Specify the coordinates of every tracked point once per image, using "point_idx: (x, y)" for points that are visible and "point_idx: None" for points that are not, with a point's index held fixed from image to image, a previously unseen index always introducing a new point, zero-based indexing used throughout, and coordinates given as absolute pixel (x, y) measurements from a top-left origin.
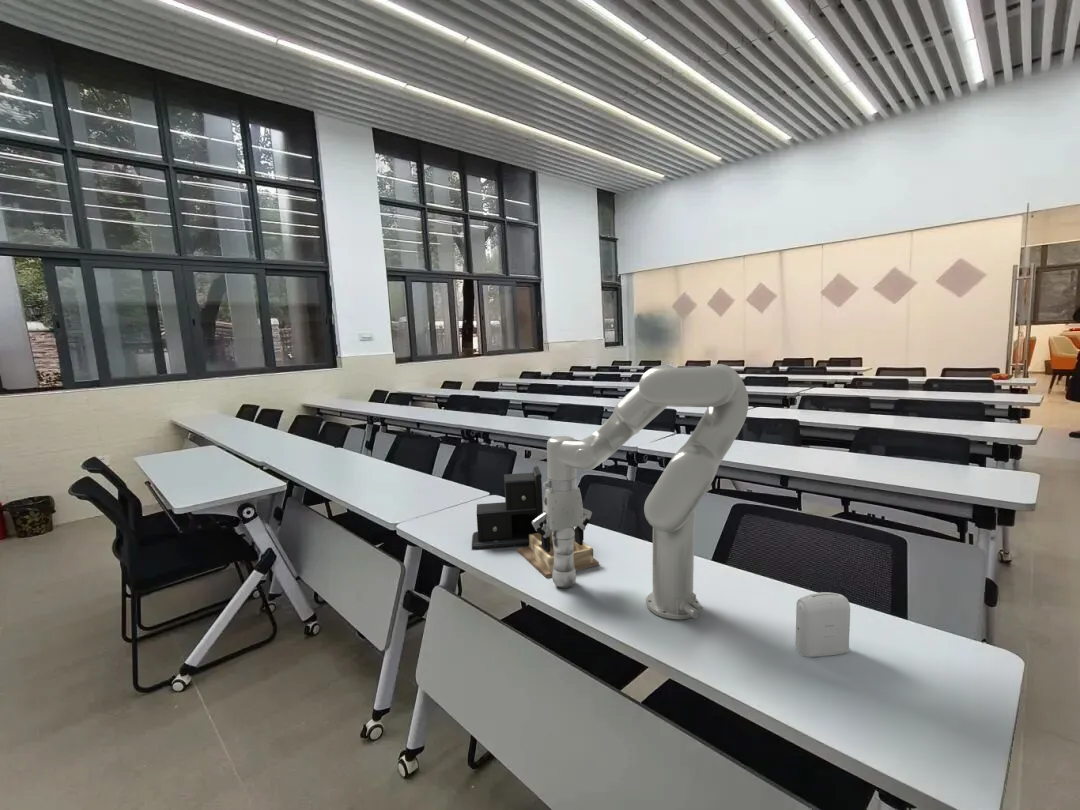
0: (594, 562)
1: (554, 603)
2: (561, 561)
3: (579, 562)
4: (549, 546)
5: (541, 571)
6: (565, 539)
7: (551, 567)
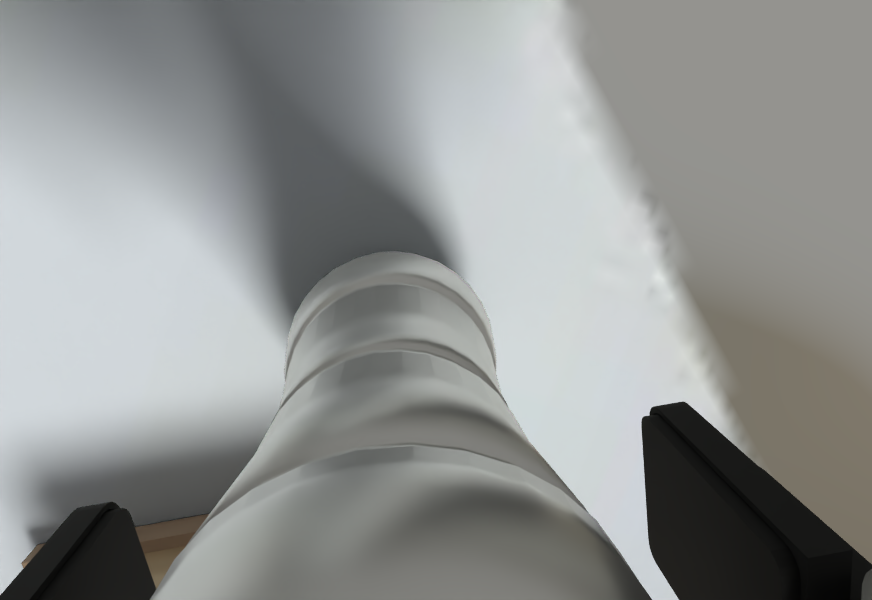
0: None
1: (554, 88)
2: (456, 343)
3: None
4: (705, 444)
5: None
6: (442, 451)
7: None
